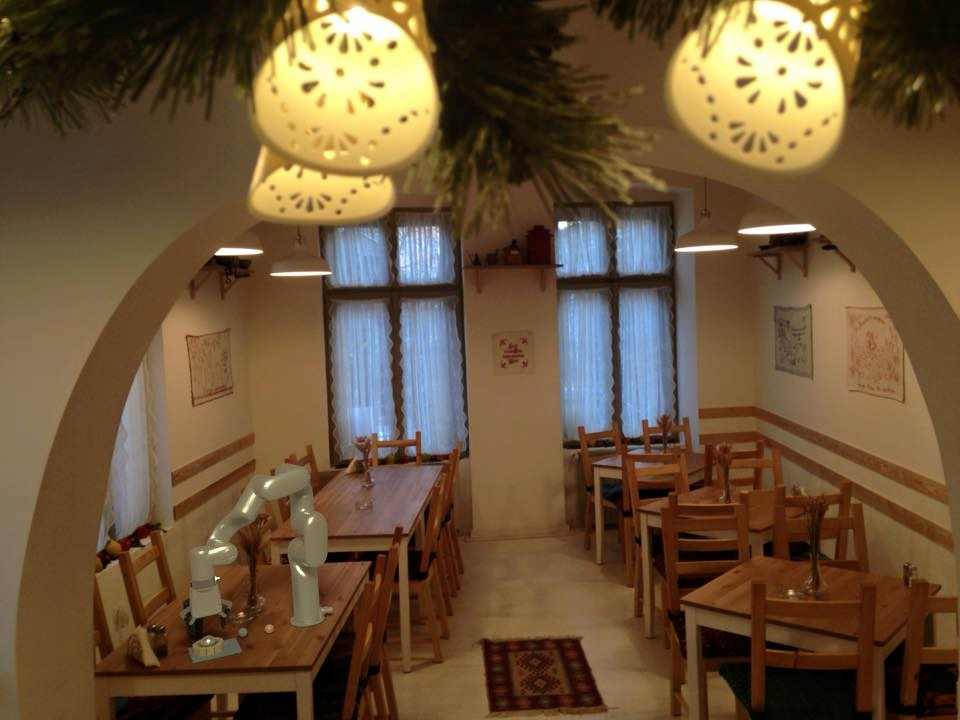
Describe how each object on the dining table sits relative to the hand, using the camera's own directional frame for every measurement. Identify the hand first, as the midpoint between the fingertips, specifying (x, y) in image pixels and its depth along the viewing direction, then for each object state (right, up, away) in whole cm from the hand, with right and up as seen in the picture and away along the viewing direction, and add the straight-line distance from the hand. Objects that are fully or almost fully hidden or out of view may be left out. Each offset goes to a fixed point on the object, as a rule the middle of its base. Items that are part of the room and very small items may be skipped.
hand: (208, 631), depth 285 cm
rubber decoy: (+8, -5, +13) cm, 16 cm away
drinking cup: (-10, -7, +15) cm, 20 cm away
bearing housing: (+2, -7, +1) cm, 8 cm away
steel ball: (0, -4, 0) cm, 4 cm away
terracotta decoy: (+17, -4, +15) cm, 23 cm away
